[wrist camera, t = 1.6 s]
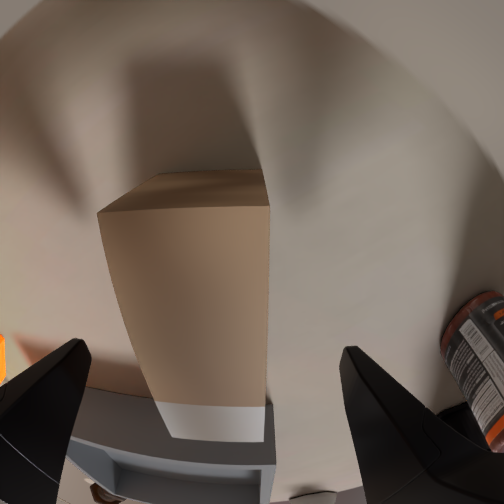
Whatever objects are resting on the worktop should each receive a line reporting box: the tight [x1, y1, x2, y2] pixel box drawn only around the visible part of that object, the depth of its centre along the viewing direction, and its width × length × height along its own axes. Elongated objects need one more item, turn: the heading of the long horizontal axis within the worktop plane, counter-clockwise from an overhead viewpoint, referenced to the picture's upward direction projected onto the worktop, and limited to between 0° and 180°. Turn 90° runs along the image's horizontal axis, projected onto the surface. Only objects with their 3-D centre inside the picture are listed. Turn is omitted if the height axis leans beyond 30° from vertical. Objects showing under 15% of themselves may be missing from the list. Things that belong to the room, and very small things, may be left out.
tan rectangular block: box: [97, 169, 270, 442], centre depth 10 cm, size 4×10×5 cm, turn 1°
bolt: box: [90, 483, 126, 504], centre depth 25 cm, size 6×5×15 cm
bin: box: [65, 387, 276, 504], centre depth 18 cm, size 18×18×4 cm
